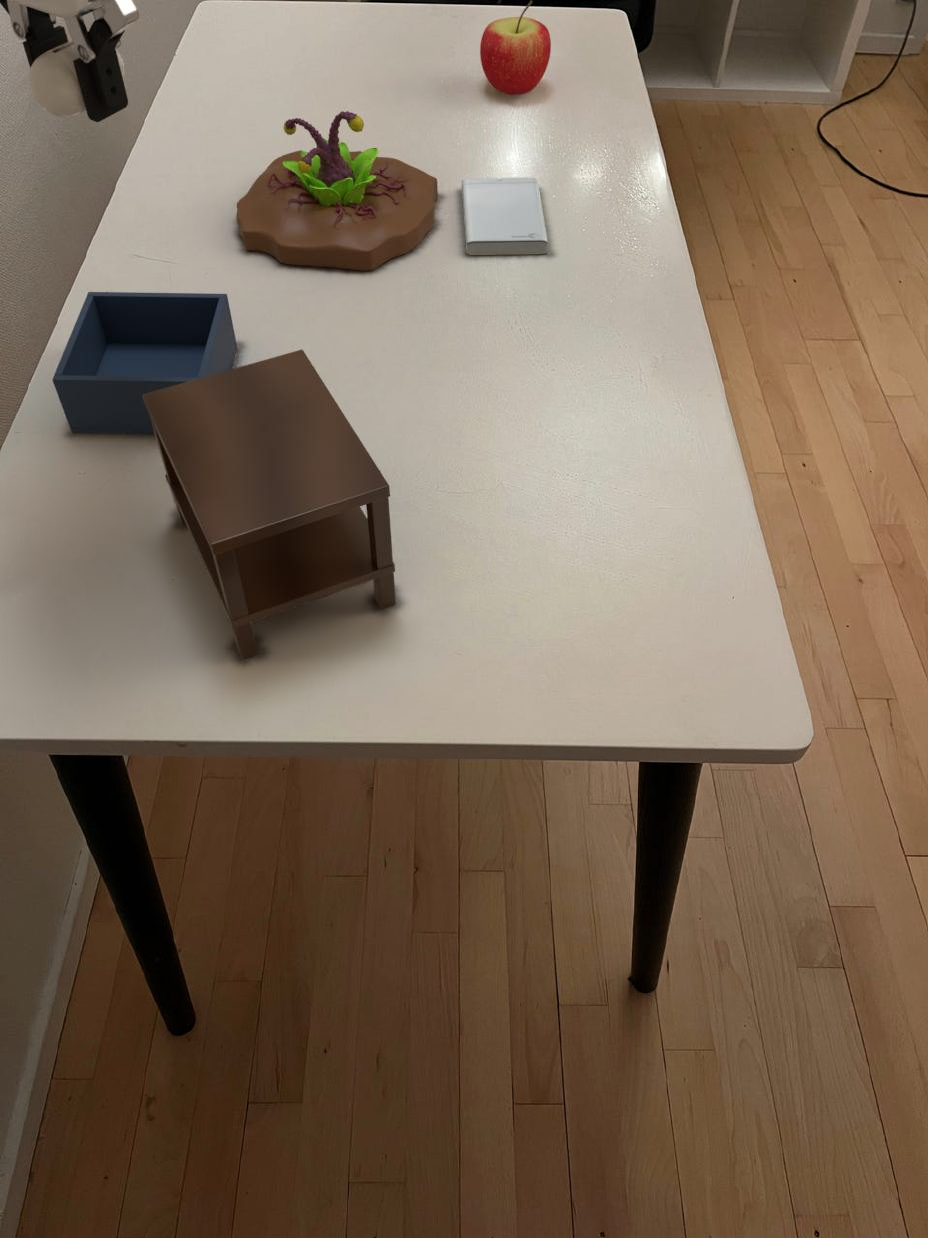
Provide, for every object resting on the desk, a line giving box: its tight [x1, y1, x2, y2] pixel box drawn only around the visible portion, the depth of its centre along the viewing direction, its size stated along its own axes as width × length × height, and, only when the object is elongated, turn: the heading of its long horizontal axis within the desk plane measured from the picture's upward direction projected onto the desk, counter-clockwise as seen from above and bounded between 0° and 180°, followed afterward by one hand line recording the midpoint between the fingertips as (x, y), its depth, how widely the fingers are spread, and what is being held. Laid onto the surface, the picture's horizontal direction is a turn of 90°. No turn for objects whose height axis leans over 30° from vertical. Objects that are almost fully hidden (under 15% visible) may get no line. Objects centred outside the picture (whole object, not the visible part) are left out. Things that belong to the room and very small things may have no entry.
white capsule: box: [28, 39, 126, 118], centre depth 72 cm, size 7×4×4 cm, turn 146°
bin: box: [51, 291, 238, 435], centre depth 91 cm, size 12×12×6 cm
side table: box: [142, 349, 397, 660], centre depth 76 cm, size 12×16×12 cm
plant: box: [236, 110, 439, 272], centre depth 107 cm, size 20×20×11 cm
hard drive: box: [461, 177, 549, 256], centre depth 110 cm, size 2×8×12 cm
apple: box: [479, 0, 552, 96], centre depth 126 cm, size 8×8×10 cm
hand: (84, 101), depth 73 cm, fingers closed on white capsule, 4 cm apart
